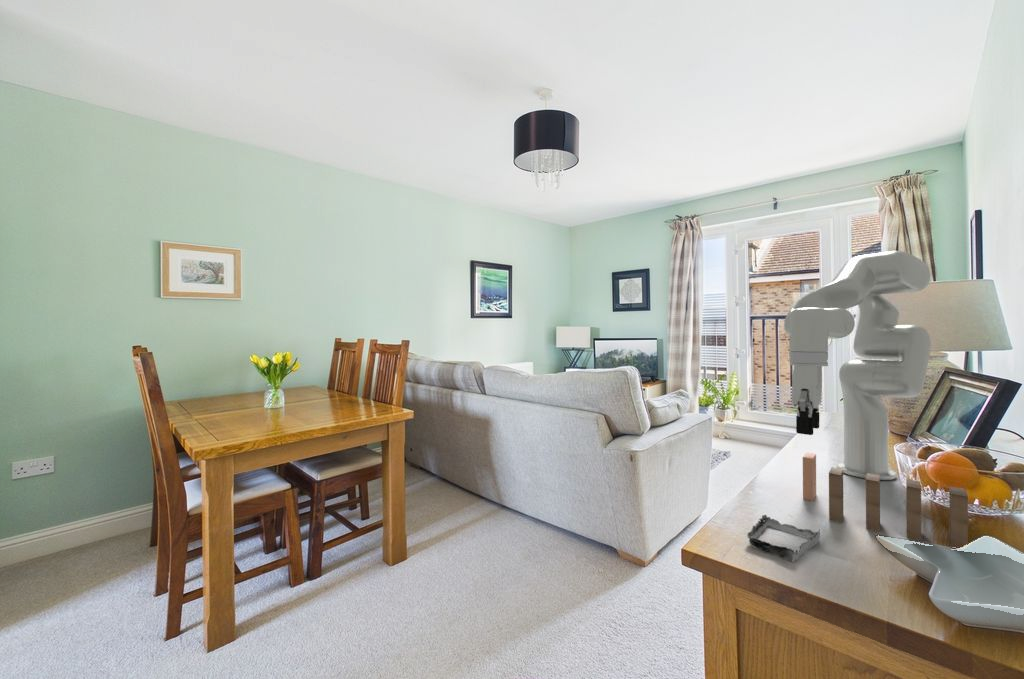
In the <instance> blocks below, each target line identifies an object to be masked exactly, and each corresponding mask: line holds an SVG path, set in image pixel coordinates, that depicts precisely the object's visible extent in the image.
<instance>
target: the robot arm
mask: <svg viewBox="0 0 1024 679" xmlns="http://www.w3.org/2000/svg"><path fill="white" fill-rule="evenodd" d="M930 282H931V271H930V268H929V266H928V265H927V263H926V262H925V261H924V260H922V259H920V258H919V257H917V256H915V255H913V254H911V253H909V252H906V251H902V250H890V251H883V252H875V253H867V254H862V255H857V256H854V257H851V258H850V259H848V260H847V261H846V262H845V263H844V264H843V266H842V267H841V269H840V270H839V271H838V272H837V274H836V276H835V277H834V278H833V279H832V280H831V282H830V283H828V284H825V285H823V286H821V287H819V288H817V289H815V290H813V291H811V292H809V293H807V294H805V295H803V296H801V297H800V298H799V299H797V301H796V302H795V303H794V304H793V305H792V306H791V308H790V309H789V310H788V312H787V314H786V315H785V318H784V323H783V327H784V328H783V329H784V331H785V333H786V334H787V335H788V336H789V366H793V370H792V380H791V381H792V383H791V386H792V387H791V400H790V401H791V402H790V403H791V406H792V407H794V408H795V407H797V409H796V416H795V417H796V419H795V422H796V424H795V427H796V429H795V432H796V434H800V435H807V436H808V435H809V436H812V435H814V429H818V430H819V428H820V412H819V411H820V410H819V409H820V407H819V406H820V405H821V403H822V394H823V392H822V390H823V389H822V388H823V385H822V384H823V367H828V366H829V339H831V340H832V339H833V340H834V339H835V340H836V339H843V338H845V337H848V336H849V335H851V334H852V332H853V331H854V329H855V326H856V323H855V322H856V321H855V317H854V315H853V314H852V313H851V311H849V310H847V309H851V308H854V307H856V306H858V309H859V319H858V322H857V327H856V330H855V331H856V332H855V334H854V335H855V336H854V339H853V351H854V354H856V355H857V356H858V357H860V358H864V359H853V360H852V359H851V360H849V361H846V362H845V363H843V364H841V366H840V368H839V373H838V374H839V375H838V376H839V383H840V387H841V391H842V397H843V459H844V460H843V462H839V463H838V464H837V467H836V468H839V469H843V474H846V475H849V476H852V477H857V478H861V479H866V476H867V473H870V474H876V475H880V481H892V480H894V479H897V472H895V471H894V470H893V469H891V468H890V467H889V466H890V465H889V458H890V456H889V455H890V454H889V412H888V409H887V407H886V405H885V404H884V403H883V402H882V400H881V399H880V398H879V397H878V396H883V397H893V398H905V399H907V398H908V399H912V398H917V397H918V396H920V394H921V393H922V392H923V390H924V386H925V383H926V377H927V371H928V365H929V360H930V355H931V349H932V346H931V345H932V343H931V342H932V341H931V335H930V333H929V331H928V330H927V329H926V328H924V327H923V326H920V325H917V324H898V321H899V317H900V312H899V310H898V309H897V307H896V306H895V305H894V304H893V303H892V302H891V301H890V300H888V299H887V298H885V297H884V296H883V295H889V294H902V293H904V294H905V293H916V292H919V291H920V292H921V291H923V290H924V289H925V288H927V286H928V285H929V283H930Z"/></svg>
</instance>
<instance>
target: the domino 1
mask: <svg viewBox="0 0 1024 679" xmlns="http://www.w3.org/2000/svg"><path fill="white" fill-rule="evenodd" d="M816 496H817V454H816V453H810V452H805V453H804V455H803V456H802V499H803V500H807V501H812V502H814V501H815V498H816Z"/></svg>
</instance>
